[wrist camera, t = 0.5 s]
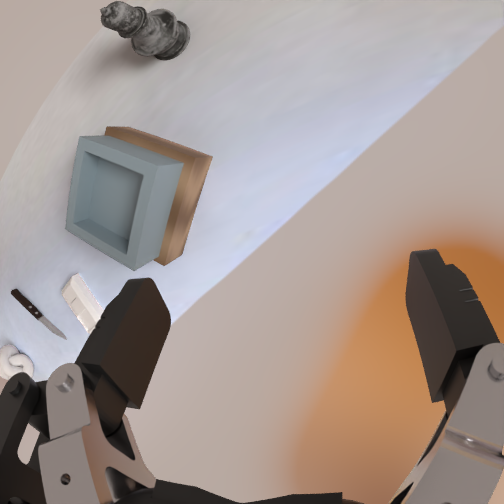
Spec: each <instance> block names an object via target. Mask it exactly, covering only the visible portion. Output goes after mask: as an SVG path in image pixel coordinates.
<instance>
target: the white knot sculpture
mask: <svg viewBox="0 0 504 504" xmlns="http://www.w3.org/2000/svg"><path fill="white" fill-rule="evenodd" d="M10 356H11V357H10ZM21 365H23V367H21ZM33 371H34V367H33V363H32V361H31V359H30V358H29V357H28V356H26V355H24V354H20V353H19V351H18V349H17V348H16V347H15V346H13V345H5V346H4V347H2V348H1V350H0V376H1V377H2V378H4V379H7V380H9V379H10V378H11V377H12V376H14V375H15V374H17V373H19V372H25V373H27V374H28V375H29V376H30V377H31V378H32V377H33Z"/></svg>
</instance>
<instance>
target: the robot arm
mask: <svg viewBox="0 0 504 504" xmlns="http://www.w3.org/2000/svg"><path fill="white" fill-rule="evenodd" d="M406 306H407V311H408V315H409V318H410V321H411V324H412V327H413V331H414V334H415V338H416V341H417V345H418V348H419V352H420V355H421V359H422V363H423V367H424V371H425V375H426V379H427V383H428V387H429V392H430V396H431V400H432V403H433V402H438V401H442V400H444V402H445V407H446V411H445V413H444V415H443V417H442V419H441V421H440V423H439V425H438V426H437V428H436V431H435V432H434V434H433V436H432V438H431V440H430V441H429V443H428V445H427V447H426V448H425V450H424V452H423V454H422V455H421V457H420V459H419V460H418V462H417V464H416V465H415V467H414V468H413V470H412V472H411V473H410V474H409V475H408V477H407V478H406V479H405V481H404V482H403V484H402V485H401V486H400V488H399V489H398V491H397V492H396V493H395V495H394V496H393V498H392V499H391V500H390V502H389V503H388V504H488V502H489V500H490V498H491V496H492V494H493V492H494V489H495V488H496V485H497V483H498V481H499V479H500V476H501V474H502V471H503V469H504V455H502V448H503V445H504V344H502V343H500V341H499V339H498V337H497V335H496V333H495V331H494V328H493V326H492V324H491V322H490V320H489V318H488V316H487V314H486V312H485V310H484V308H483V306H482V304H481V302H480V301H478V296H477V295H476V293H475V291H474V290H473V288H472V285H471V284H470V282H469V280H468V278H467V277H466V275H465V274H464V273H463V272H462V271H461V270H460V269H458V268H457V267H456V266H455V265H453V264H449V265H445V263H444V261H443V259H442V258H441V256H440V254H439V252H438V251H437V250H436V249H429V250H421V251H413V252H411V254H410V260H409V270H408V278H407V287H406ZM100 318H101V319H99V320H98V322H97V324H96V325H95V329H93V331H92V332H91V334H90V336H89V338H88V339H87V341H86V343H85V345H84V347H83V348H82V350H81V352H80V354H79V356H78V358H77V360H76V361H75V363H67V364H64V365H62V366H60V367H58V368H57V369H56V370H55V371H54V372H53V373H52V374H51V376H50V377H49V379H48V380H46V381H41V382H35V381H34V380H33V379H32V378H31V377H30V376H29V375H28V374H27V373H25V372H19V373H17V374H15V375H14V376H12V377H11V378H10V379H9V380H8V382H7V383H6V385H5V387H4V389H3V391H2V393H1V395H0V504H364V503H360V502H356V501H353V500H346V499H342V492H340V493H325V494H292V495H287V496H282V497H277V498H272V499H267V500H261V501H255V502H248V503H238V502H235V501H232V500H229V499H226V498H223V497H221V496H218V495H215V494H213V493H210V492H208V491H205V490H203V489H200V488H198V487H195V486H188V485H182V484H177V483H172V482H167V481H163V480H158V479H156V478H155V477H154V475H153V474H152V473H151V472H150V471H149V470H148V468H147V467H146V466H145V464H144V462H143V460H142V457H141V454H140V452H139V449H138V446H137V444H136V441H135V438H134V436H133V433H132V430H131V427H130V424H129V421H128V418H127V417H126V415H125V414H124V412H125V409H126V407H129V408H135V409H140V407H141V405H142V402H143V399H144V396H145V394H146V391H147V388H148V385H149V383H150V380H151V377H152V374H153V372H154V369H155V366H156V364H157V361H158V358H159V356H160V353H161V350H162V348H163V345H164V342H165V340H166V338H167V335H168V332H169V330H170V326H171V317H170V313H169V310H168V308H167V306H166V304H165V302H164V300H163V298H162V296H161V294H160V292H159V290H158V288H157V286H156V284H155V282H154V281H153V280H152V279H151V278H140V279H130V280H128V281H127V282H126V284H125V285H124V287H123V288H122V290H121V292H120V293H119V295H117V296H116V297H115V298H114V299H113V300H112V301H111V302H110V303H109V304H108V305H107V307H106V308H105V310H104V312H103V313H102V315H101V317H100ZM28 423H29V424H30V425H31V426H33V427H34V428H35V429H36V430H38V431H39V432H40V434H39V437H38V439H37V442H36V445H35V447H34V450H33V453H32V456H31V458H30V461H29V463H28V464H27V465H25V464H24V463H22V462H21V461H20V459H19V457H18V454H17V451H18V447H19V444H20V442H21V439H22V437H23V434H24V432H25V429H26V426H27V424H28Z"/></svg>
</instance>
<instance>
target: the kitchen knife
mask: <svg viewBox="0 0 504 504" xmlns="http://www.w3.org/2000/svg"><path fill="white" fill-rule="evenodd" d="M11 294H12V295H13V296H14V297H15V298H16V299H17V300H18V301H19V302H20V303H21V304H22V305H23V306H24V307H25V308H26V309H27V310H28V311H29V312H30V313H31V314H32V315H33V316H34V317H35V318H36V319H37V320H40V321H41V322H42V323H43V324H44V325H45V326H46V327H47V328H48V329H49V330H51V331H52V332H53V333H55V334H56V335H58V336H60V337H62V338H64V339H66V337H65V335H64V334H63V333H62V332H61V331H60V330H59V329H58V328H56V327H55V326H54V325H53V324H52V323H51V322H50V321H49V320H47V319H46V318H45V317H44V316H43V315H42V314H41V313H40V312H39V311H38V309H37V308H36V307H35V306H34V305H33V304H32V303H31V302H30V301H29V300H28V299H27V298H25V297H24V296H23V295H21V294H20V292H19V291H18V290H17V289H14V290H12V291H11ZM66 340H67V339H66Z"/></svg>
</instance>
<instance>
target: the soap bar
mask: <svg viewBox="0 0 504 504" xmlns="http://www.w3.org/2000/svg"><path fill="white" fill-rule="evenodd" d="M62 296H63V297H64V299H65V300H66V302H67V303H68V305H69V306H70V308H71V309H72V311H73V312H74V314H75V315H76V317H77V318H78V319H79V321H80V322H81V324H82V325H83V326H84V328H85V329H86V330H87V332H88V333H90V334H91V332H92V331H93V329H95V325H96V324H97V322H98V320H99V319H101V318H100V317H101V315H102V313H103V312H104V310H103V308H102V307H101V305H100V304H99V303H98V301H97V300H96V298H95V297H94V296H93V294H92V293H91V291H90V290H89V288H88V287H87V285H86V284H85V282H84V281H83V279H82V278H81V276H80V275H79V273H78V274H76V275H74V276H72V277H71V279H70V280H69V281H68V283H67V284H66V285H65V287H64V288H63V289H62Z"/></svg>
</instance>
